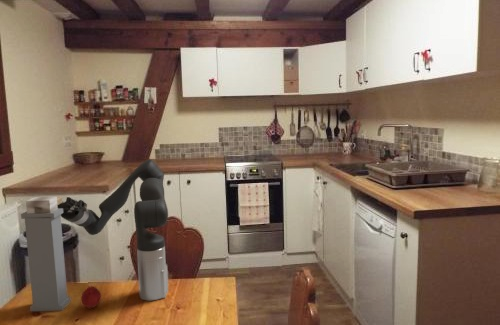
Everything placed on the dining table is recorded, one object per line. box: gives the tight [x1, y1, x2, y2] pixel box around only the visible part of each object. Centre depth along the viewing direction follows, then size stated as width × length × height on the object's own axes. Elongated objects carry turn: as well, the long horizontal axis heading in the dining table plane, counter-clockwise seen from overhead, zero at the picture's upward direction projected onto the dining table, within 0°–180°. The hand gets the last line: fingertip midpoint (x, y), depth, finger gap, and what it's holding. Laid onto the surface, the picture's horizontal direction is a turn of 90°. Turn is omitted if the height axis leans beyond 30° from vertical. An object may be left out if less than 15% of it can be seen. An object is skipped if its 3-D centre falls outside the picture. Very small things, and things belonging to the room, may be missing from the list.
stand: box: [20, 208, 72, 312], centre depth 117 cm, size 10×6×32 cm, turn 92°
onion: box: [80, 283, 102, 309], centre depth 118 cm, size 6×6×8 cm
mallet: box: [25, 196, 63, 214], centre depth 119 cm, size 7×14×4 cm, turn 4°
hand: (54, 200), depth 123 cm, fingers open, 8 cm apart
